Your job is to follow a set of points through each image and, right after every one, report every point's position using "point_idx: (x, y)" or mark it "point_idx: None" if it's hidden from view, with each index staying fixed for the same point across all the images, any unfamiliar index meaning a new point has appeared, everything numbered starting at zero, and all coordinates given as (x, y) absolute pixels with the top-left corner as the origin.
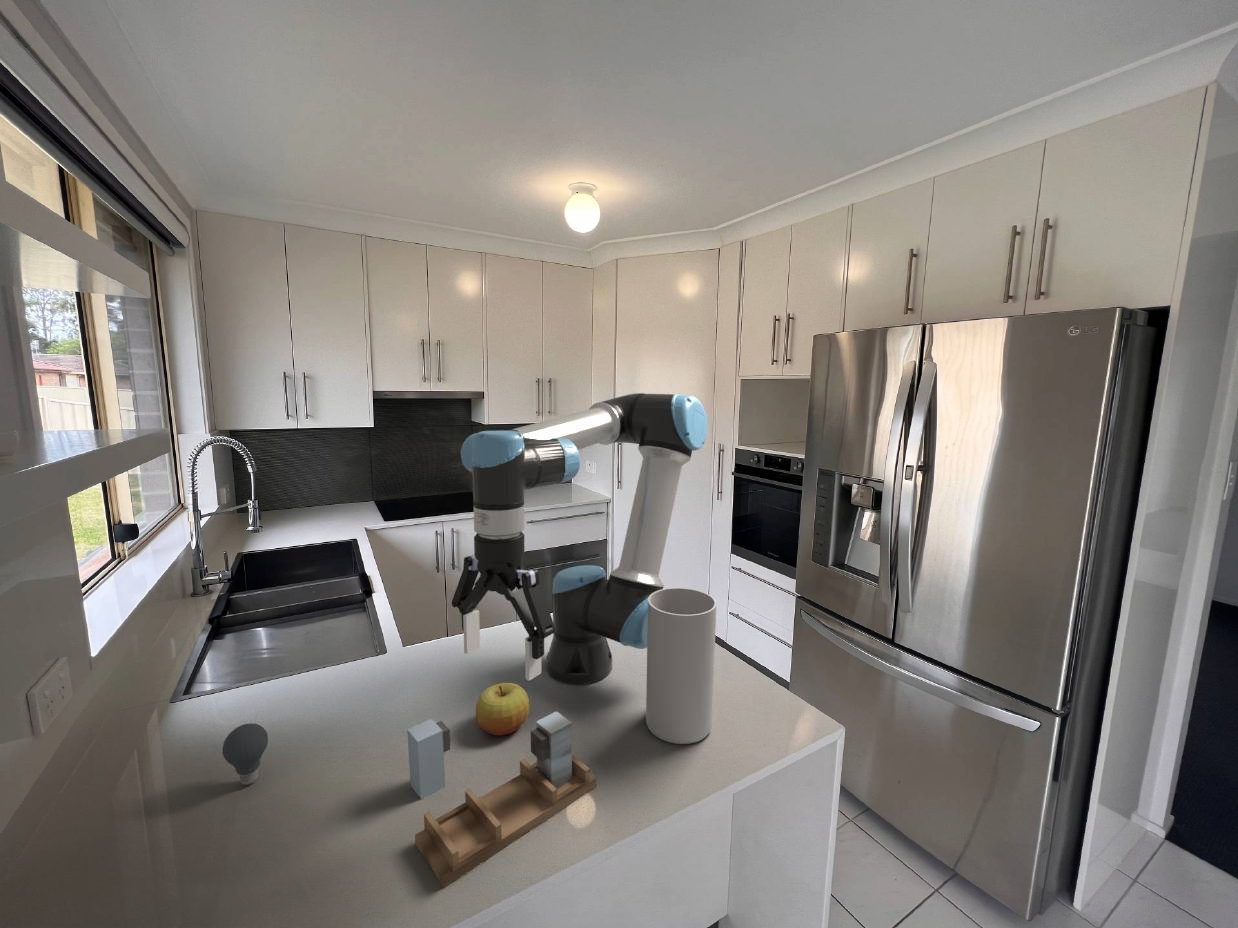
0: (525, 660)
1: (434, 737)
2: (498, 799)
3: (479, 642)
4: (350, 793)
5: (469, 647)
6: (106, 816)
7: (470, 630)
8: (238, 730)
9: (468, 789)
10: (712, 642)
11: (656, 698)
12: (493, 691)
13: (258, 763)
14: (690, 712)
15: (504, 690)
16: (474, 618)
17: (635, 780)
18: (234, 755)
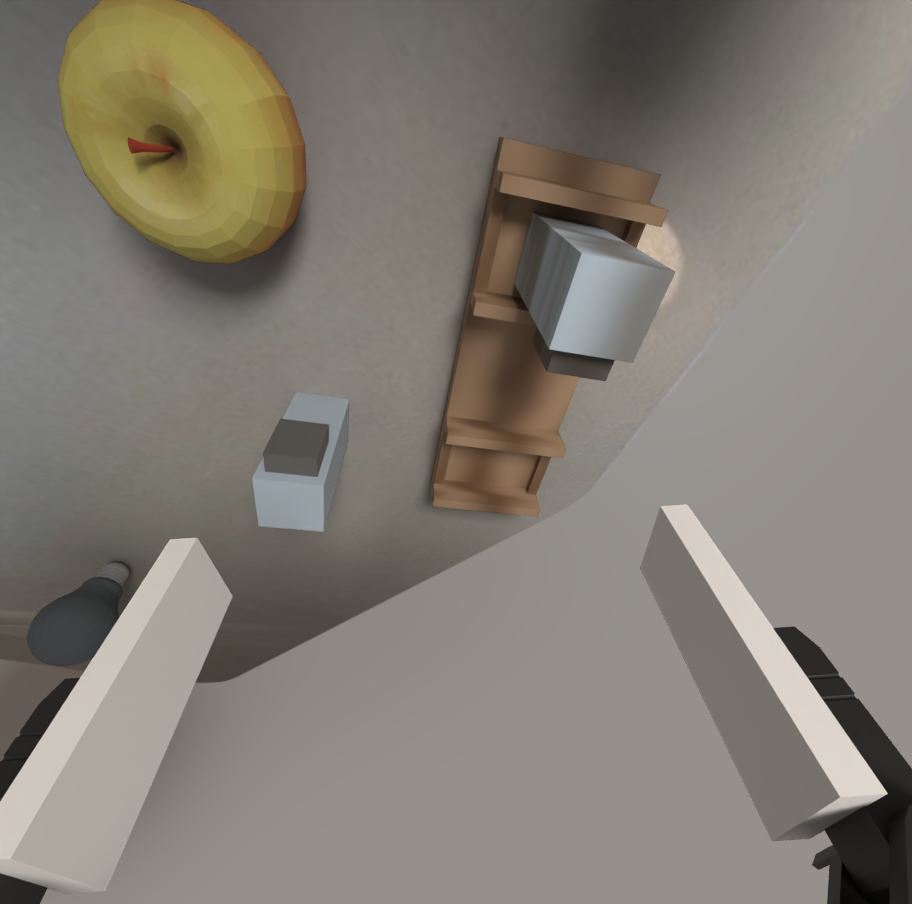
0: (685, 660)
1: (325, 495)
2: (485, 379)
3: (181, 567)
4: (247, 496)
5: (214, 616)
6: None
7: (160, 720)
8: (58, 664)
9: (448, 438)
10: None
11: None
12: (133, 174)
13: (107, 585)
14: None
15: (144, 121)
16: (89, 802)
17: (757, 57)
18: None
